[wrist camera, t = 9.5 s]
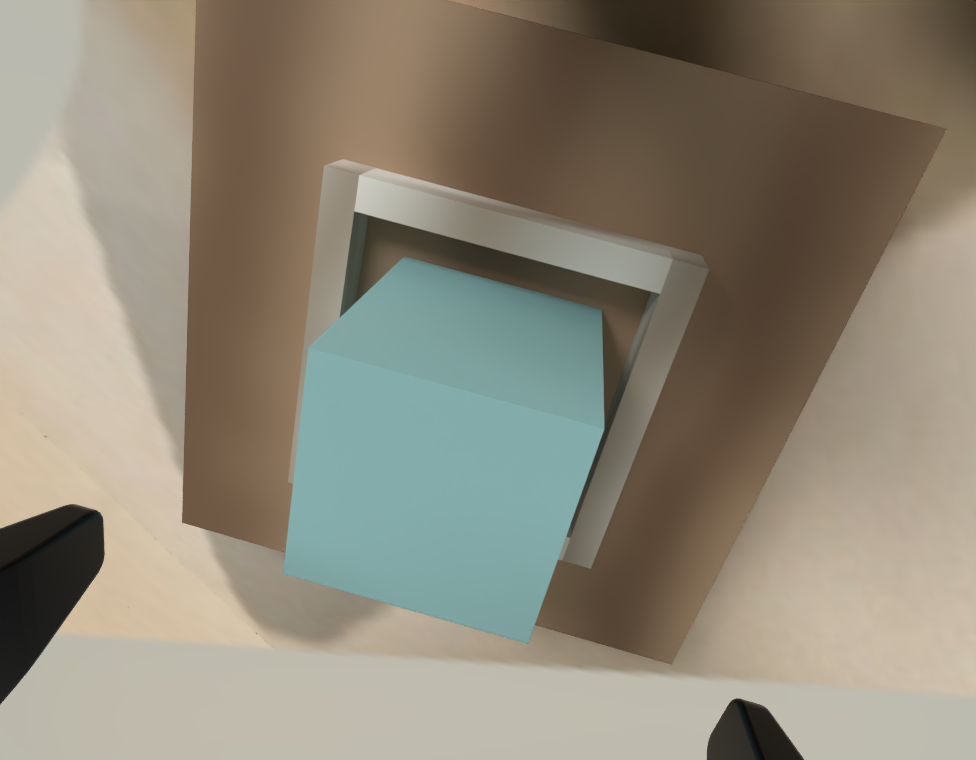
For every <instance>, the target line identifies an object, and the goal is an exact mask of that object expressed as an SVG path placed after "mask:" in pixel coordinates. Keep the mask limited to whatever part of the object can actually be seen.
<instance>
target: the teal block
mask: <svg viewBox="0 0 976 760" xmlns="http://www.w3.org/2000/svg"><path fill="white" fill-rule="evenodd" d="M604 429H605V428H604V382H603V336H602V309H599V308H596V307H592V306H588V305H584V304H581V303H577V302H573V301H569V300H566V299H562V298H558V297H554V296H551V295H547V294H543V293H539V292H536V291H532V290H528V289H524V288H521V287H517V286H513V285H509V284H506V283H502V282H498V281H494V280H491V279H487V278H483V277H479V276H476V275H472V274H468V273H464V272H461V271H457V270H453V269H449V268H446V267H442V266H438V265H434V264H431V263H427V262H423V261H419V260H416V259H412V258H408V257H403V258H402V259H401V260H400V261H399V262H398V263H397V264H396V265H395V266H394V267H393V268H392V269H391V270H389V271H388V272H387V273H386V274H385V275H384V276H383V277H382V278H381V279H380V280H379V281H378V282H377V283H376V284H375V285H374V286H373V287H372V288H371V289H370V290H368V291H367V292H366V293H365V294H364V295H363V296H362V297H361V298H360V299H359V300H358V301H357V302H356V303H355V304H354V305H353V306H352V307H351V308H350V309H349V310H348V311H346V312H345V313H344V314H343V315H342V316H341V317H340V318H339V319H338V320H337V321H336V322H335V323H334V324H333V325H332V326H331V327H330V328H329V329H328V330H327V331H325V332H324V333H323V334H322V335H321V336H320V337H319V338H318V339H317V340H316V341H315V342H314V343H313V344H312V345H311V346H310V347H309V348H308V356H307V365H306V374H305V383H304V392H303V401H302V410H301V418H300V427H299V436H298V445H297V454H296V463H295V472H294V481H293V490H292V498H291V507H290V516H289V525H288V534H287V543H286V552H285V561H284V570H283V574H286V575H290V576H293V577H297V578H300V579H304V580H307V581H311V582H314V583H318V584H321V585H324V586H328V587H331V588H335V589H338V590H342V591H345V592H349V593H352V594H356V595H359V596H363V597H366V598H370V599H373V600H377V601H380V602H384V603H387V604H391V605H394V606H398V607H401V608H405V609H408V610H412V611H415V612H419V613H422V614H425V615H429V616H432V617H436V618H439V619H443V620H446V621H450V622H453V623H457V624H460V625H464V626H467V627H471V628H474V629H478V630H481V631H485V632H488V633H492V634H495V635H499V636H502V637H506V638H509V639H513V640H516V641H520V642H523V643H527V644H528V642H529V639H530V637H531V634H532V631H533V628H534V625H535V622H536V620H537V617H538V614H539V611H540V608H541V606H542V603H543V600H544V597H545V594H546V592H547V589H548V586H549V583H550V580H551V578H552V575H553V572H554V569H555V566H556V564H557V561H558V558H559V555H560V552H561V549H562V547H563V544H564V541H565V538H566V535H567V533H568V530H569V527H570V524H571V521H572V519H573V516H574V513H575V510H576V507H577V505H578V502H579V499H580V496H581V493H582V491H583V488H584V485H585V482H586V479H587V477H588V474H589V471H590V468H591V465H592V462H593V460H594V457H595V454H596V451H597V448H598V446H599V443H600V440H601V437H602V434H603V432H604Z"/></svg>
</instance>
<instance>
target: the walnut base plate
mask: <svg viewBox="0 0 976 760" xmlns="http://www.w3.org/2000/svg"><path fill="white" fill-rule="evenodd" d="M945 131H946V129H945V128H941V127H937V126H933V125H930V124H926V123H922V122H918V121H914V120H910V119H906V118H902V117H898V116H895V115H891V114H887V113H883V112H879V111H875V110H871V109H867V108H864V107H860V106H856V105H852V104H848V103H844V102H840V101H836V100H832V99H829V98H825V97H821V96H817V95H813V94H809V93H805V92H801V91H798V90H794V89H790V88H786V87H782V86H778V85H774V84H770V83H767V82H763V81H759V80H755V79H751V78H747V77H743V76H739V75H735V74H732V73H728V72H724V71H720V70H716V69H712V68H708V67H704V66H701V65H697V64H693V63H689V62H685V61H681V60H677V59H673V58H670V57H666V56H662V55H658V54H654V53H650V52H646V51H642V50H638V49H635V48H631V47H627V46H623V45H619V44H615V43H611V42H607V41H604V40H600V39H596V38H592V37H588V36H584V35H580V34H576V33H573V32H569V31H565V30H561V29H557V28H553V27H549V26H545V25H541V24H538V23H534V22H530V21H526V20H522V19H518V18H514V17H510V16H507V15H503V14H499V13H495V12H491V11H487V10H483V9H479V8H476V7H472V6H468V5H464V4H460V3H456V2H452V1H448V0H196V29H195V67H194V104H193V141H192V178H191V215H190V252H189V289H188V326H187V364H186V401H185V438H184V475H183V512H182V523H186V524H189V525H192V526H196V527H199V528H203V529H206V530H210V531H213V532H217V533H220V534H224V535H227V536H230V537H234V538H237V539H241V540H244V541H248V542H251V543H255V544H258V545H261V546H265V547H268V548H272V549H275V550H279V551H282V552H286V543H287V534H288V525H289V516H290V507H291V498H292V490H293V481H294V472H295V463H296V454H297V445H298V436H299V427H300V418H301V410H302V401H303V392H304V383H305V374H306V365H307V356H308V348H309V347H310V346H311V345H312V344H313V343H314V342H315V341H316V340H317V339H318V338H319V337H320V336H321V335H322V334H323V333H324V332H325V331H327V330H328V329H329V328H330V327H331V326H332V325H333V324H334V323H335V322H336V321H337V320H338V319H339V318H340V317H341V316H342V315H343V314H344V313H345V312H346V311H348V310H349V309H350V308H351V307H352V306H353V305H354V304H355V303H356V302H357V301H358V300H359V299H360V298H361V297H362V296H363V295H364V294H365V293H366V292H367V291H368V290H370V289H371V288H372V287H373V286H374V285H375V284H376V283H377V282H378V281H379V280H380V279H381V278H382V277H383V276H384V275H385V274H386V273H387V272H388V271H389V270H391V269H392V268H393V267H394V266H395V265H396V264H397V263H398V262H399V261H400V260H401V259H402V258H403V257H408V258H412V259H416V260H419V261H423V262H427V263H431V264H434V265H438V266H442V267H446V268H449V269H453V270H457V271H461V272H464V273H468V274H472V275H476V276H479V277H483V278H487V279H491V280H494V281H498V282H502V283H506V284H509V285H513V286H517V287H521V288H524V289H528V290H532V291H536V292H539V293H543V294H547V295H551V296H554V297H558V298H562V299H566V300H569V301H573V302H577V303H581V304H584V305H588V306H592V307H596V308H599V309H602V336H603V382H604V428H605V429H604V432H603V434H602V437H601V440H600V443H599V446H598V448H597V451H596V454H595V457H594V460H593V462H592V465H591V468H590V471H589V474H588V477H587V479H586V482H585V485H584V488H583V491H582V493H581V496H580V499H579V502H578V505H577V507H576V510H575V513H574V516H573V519H572V521H571V524H570V527H569V530H568V533H567V535H566V538H565V541H564V544H563V547H562V549H561V552H560V555H559V558H558V561H557V564H556V566H555V569H554V572H553V575H552V578H551V580H550V583H549V586H548V589H547V592H546V594H545V597H544V600H543V603H542V606H541V608H540V611H539V614H538V617H537V620H536V622H535V625H537V626H541V627H544V628H548V629H551V630H554V631H558V632H561V633H565V634H568V635H572V636H575V637H579V638H582V639H586V640H589V641H592V642H596V643H599V644H603V645H606V646H610V647H613V648H617V649H620V650H623V651H627V652H630V653H634V654H637V655H641V656H644V657H648V658H651V659H654V660H658V661H661V662H665V663H668V664H672V663H673V661H674V659H675V657H676V655H677V653H678V651H679V649H680V647H681V645H682V643H683V641H684V639H685V637H686V635H687V634H688V632H689V630H690V628H691V626H692V624H693V622H694V620H695V618H696V616H697V614H698V612H699V610H700V608H701V606H702V604H703V602H704V600H705V598H706V597H707V595H708V593H709V591H710V589H711V587H712V585H713V583H714V581H715V579H716V577H717V575H718V573H719V571H720V569H721V567H722V565H723V563H724V561H725V560H726V558H727V556H728V554H729V552H730V550H731V548H732V546H733V544H734V542H735V540H736V538H737V536H738V534H739V532H740V530H741V528H742V526H743V524H744V523H745V521H746V519H747V517H748V515H749V513H750V511H751V509H752V507H753V505H754V503H755V501H756V499H757V497H758V495H759V493H760V491H761V489H762V487H763V486H764V484H765V482H766V480H767V478H768V476H769V474H770V472H771V470H772V468H773V466H774V464H775V462H776V460H777V458H778V456H779V454H780V452H781V450H782V449H783V447H784V445H785V443H786V441H787V439H788V437H789V435H790V433H791V431H792V429H793V427H794V425H795V423H796V421H797V419H798V417H799V415H800V413H801V412H802V410H803V408H804V406H805V404H806V402H807V400H808V398H809V396H810V394H811V392H812V390H813V388H814V386H815V384H816V382H817V380H818V378H819V376H820V375H821V373H822V371H823V369H824V367H825V365H826V363H827V361H828V359H829V357H830V355H831V353H832V351H833V349H834V347H835V345H836V343H837V341H838V339H839V338H840V336H841V334H842V332H843V330H844V328H845V326H846V324H847V322H848V320H849V318H850V316H851V314H852V312H853V310H854V308H855V306H856V304H857V302H858V301H859V299H860V297H861V295H862V293H863V291H864V289H865V287H866V285H867V283H868V281H869V279H870V277H871V275H872V273H873V271H874V269H875V267H876V265H877V264H878V262H879V260H880V258H881V256H882V254H883V252H884V250H885V248H886V246H887V244H888V242H889V240H890V238H891V236H892V234H893V232H894V230H895V228H896V227H897V225H898V223H899V221H900V219H901V217H902V215H903V213H904V211H905V209H906V207H907V205H908V203H909V201H910V199H911V197H912V195H913V193H914V191H915V190H916V188H917V186H918V184H919V182H920V180H921V178H922V176H923V174H924V172H925V170H926V168H927V166H928V164H929V162H930V160H931V158H932V156H933V154H934V153H935V151H936V149H937V147H938V145H939V143H940V141H941V139H942V137H943V135H944V133H945Z"/></svg>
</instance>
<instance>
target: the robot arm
mask: <svg viewBox="0 0 976 760" xmlns="http://www.w3.org/2000/svg"><path fill="white" fill-rule="evenodd" d="M104 554H105V552H104V528H103V517H102V515H101V514H100V512H98V511H97V510H93V509H90V508H86V507H83V506H80V505H76V504H70V505H65V506H62V507H59V508H57V509H54V510H51V511H48V512H45V513H42V514H40V515H37V516H34V517H31V518H28V519H26V520H23V521H20V522H17V523H14V524H12V525H9V526H6V527H3V528H0V704H1V703H2V702H3V701H4V699H5V698H6V697H7V696H8V695H9V694H10V692H11V691H12V690H13V689H14V688H15V687H16V685H17V684H18V683H19V682H20V680H21V679H22V678H23V677H24V675H26V673H27V672H28V671H29V670H30V668H31V667H32V666H33V664H34V663H35V662H36V660H37V659H38V658H39V656H40V655H41V653H42V652H43V651H44V649H45V648H46V646H47V645H48V644H49V642H50V641H51V639H52V638H53V636H54V635H55V634H56V632H57V631H58V629H59V628H60V626H61V625H62V624H63V622H64V621H65V619H66V618H67V616H68V615H69V614H70V612H71V611H72V609H73V608H74V607H75V605H76V604H77V602H78V601H79V599H80V598H81V597H82V595H83V594H84V592H85V591H86V589H87V588H88V587H89V585H90V584H91V582H92V581H93V580H94V578H95V577H96V575H97V574H98V572H99V570H100V568H101V566H102V564H103V561H104ZM707 760H804V759H803V757H802V756H801V754H800V753H799V752H798V750H797V749H796V747H795V746H794V745H793V743H792V742H791V740H790V739H789V738H788V737H787V735H786V734H785V732H784V731H783V729H782V728H781V727H780V725H779V724H778V722H777V721H776V720H775V718H774V717H773V716H772V714H771V713H770V712H769V710H768V709H766V708H765V707H764V706H762V705H760V704H756V703H753V702H749V701H746V700H742V699H734V700H732V701H731V702H730V703H729V705H728V706H727V708H726V710H725V711H724V713H723V715H722V716H721V718H720V720H719V722H718V723H717V725H716V727H715V728H714V730H713V732H712V733H711V735H710V738H709V742H708V748H707Z"/></svg>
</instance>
